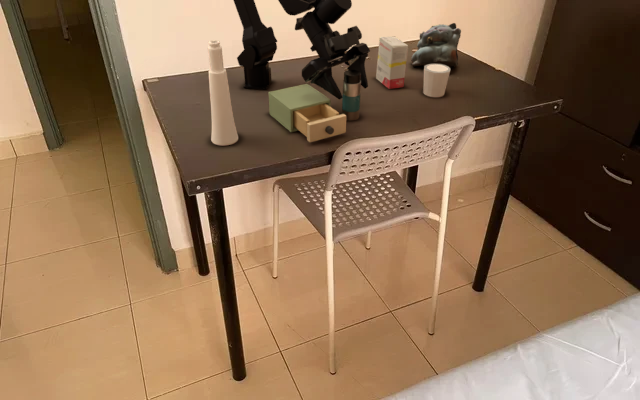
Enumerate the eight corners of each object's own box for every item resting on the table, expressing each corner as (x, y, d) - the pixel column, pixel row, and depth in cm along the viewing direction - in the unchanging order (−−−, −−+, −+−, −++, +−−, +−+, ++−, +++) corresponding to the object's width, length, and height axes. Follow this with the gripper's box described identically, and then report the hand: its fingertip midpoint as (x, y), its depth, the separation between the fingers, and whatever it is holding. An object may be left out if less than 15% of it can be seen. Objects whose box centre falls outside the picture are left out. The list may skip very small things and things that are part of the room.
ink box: (404, 87, 139) (409, 44, 132) (388, 89, 138) (392, 46, 131) (391, 76, 146) (394, 35, 139) (375, 78, 144) (378, 36, 137)
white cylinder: (449, 90, 137) (453, 65, 133) (443, 100, 132) (447, 74, 128) (424, 86, 140) (427, 61, 136) (417, 95, 135) (420, 69, 131)
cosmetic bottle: (238, 132, 116) (229, 36, 104) (238, 145, 111) (228, 46, 99) (212, 133, 116) (199, 37, 103) (210, 146, 111) (197, 47, 98)
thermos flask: (343, 121, 122) (344, 76, 115) (340, 113, 125) (342, 69, 119) (360, 120, 122) (363, 75, 116) (357, 112, 126) (360, 69, 119)
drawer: (348, 134, 114) (349, 117, 112) (312, 144, 110) (312, 127, 108) (322, 115, 122) (322, 99, 120) (287, 124, 118) (287, 107, 116)
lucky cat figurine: (401, 65, 152) (407, 18, 151) (425, 72, 160) (431, 28, 159) (443, 64, 141) (450, 13, 140) (466, 72, 150) (473, 23, 148)
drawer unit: (330, 122, 121) (330, 99, 118) (291, 132, 117) (290, 109, 113) (307, 105, 129) (307, 83, 126) (269, 114, 124) (268, 92, 121)
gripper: (310, 24, 107) (346, 87, 107) (366, 8, 118) (399, 66, 118) (286, 51, 116) (319, 110, 116) (340, 34, 127) (371, 88, 127)
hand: (354, 93), depth 119 cm, fingers open, 9 cm apart
